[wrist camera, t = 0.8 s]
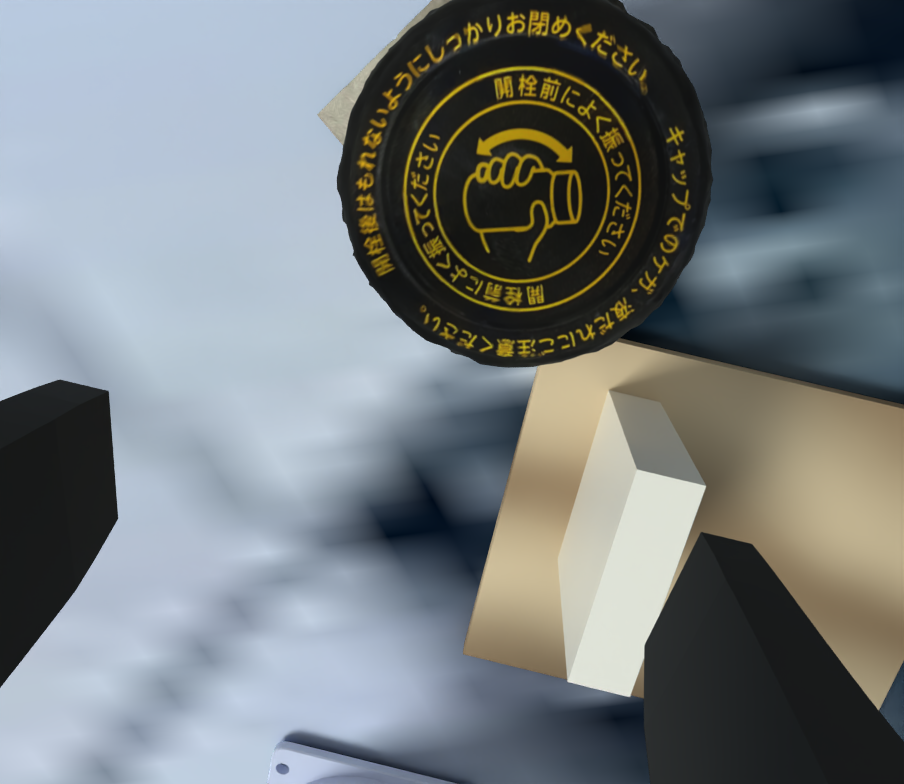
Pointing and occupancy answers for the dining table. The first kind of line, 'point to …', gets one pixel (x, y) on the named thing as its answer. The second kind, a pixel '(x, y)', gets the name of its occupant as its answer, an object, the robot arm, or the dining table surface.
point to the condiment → (522, 175)
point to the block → (624, 541)
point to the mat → (714, 500)
